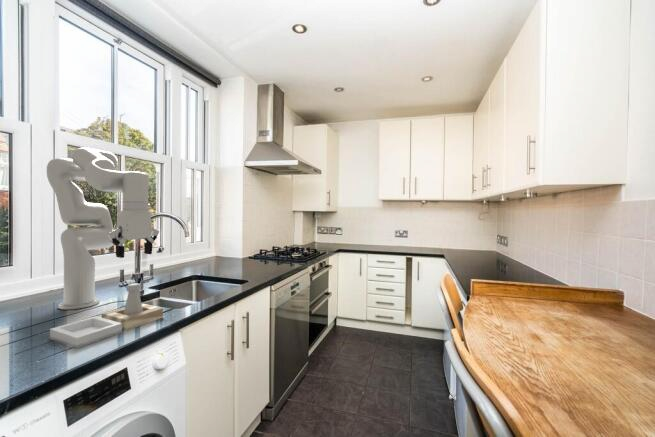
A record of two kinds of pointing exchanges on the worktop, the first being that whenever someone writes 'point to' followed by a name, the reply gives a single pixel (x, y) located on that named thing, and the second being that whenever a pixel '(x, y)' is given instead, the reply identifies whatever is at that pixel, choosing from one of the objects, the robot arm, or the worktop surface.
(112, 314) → the birch holder
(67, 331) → the grey tray
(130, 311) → the salt shaker
